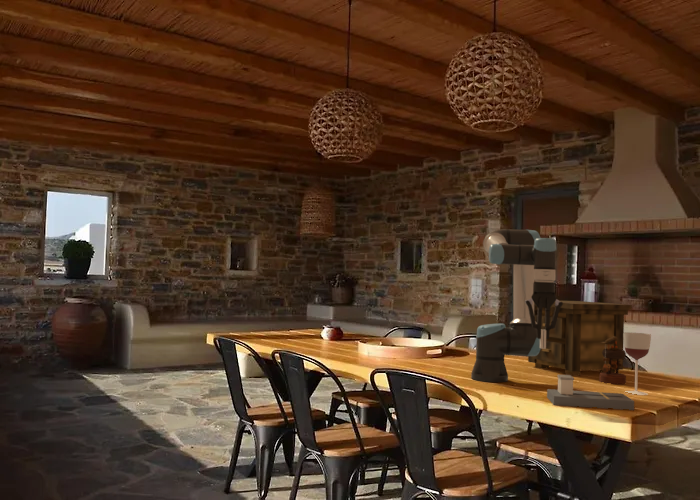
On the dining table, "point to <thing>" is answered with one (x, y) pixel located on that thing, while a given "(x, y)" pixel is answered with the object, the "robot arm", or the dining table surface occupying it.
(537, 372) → the dining table surface
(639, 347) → the wineglass
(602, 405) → the fader console
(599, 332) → the wooden cabinet
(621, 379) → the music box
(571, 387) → the fader tab
